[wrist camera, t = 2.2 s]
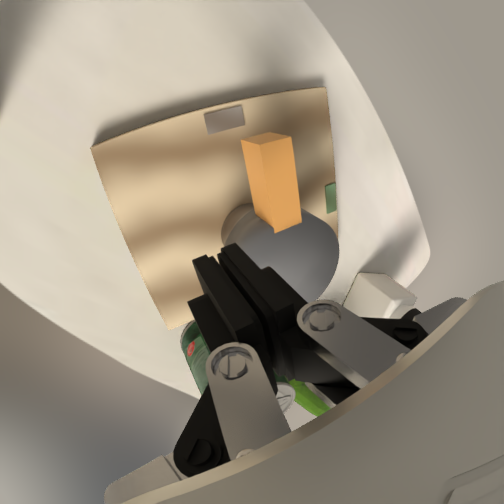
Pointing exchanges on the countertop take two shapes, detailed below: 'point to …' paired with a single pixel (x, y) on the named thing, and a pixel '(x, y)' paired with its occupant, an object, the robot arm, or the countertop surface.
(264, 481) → the robot arm
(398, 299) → the medicine bottle
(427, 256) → the countertop surface
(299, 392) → the avocado
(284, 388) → the canned tomato
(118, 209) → the plate
